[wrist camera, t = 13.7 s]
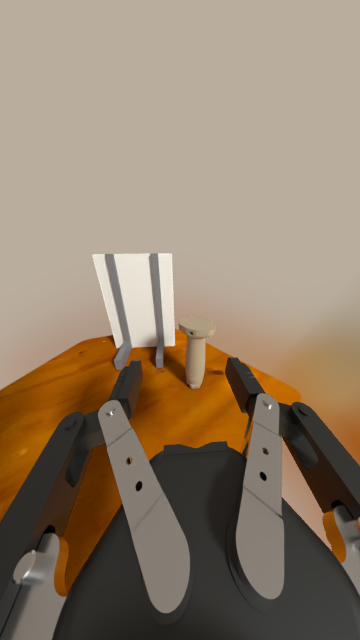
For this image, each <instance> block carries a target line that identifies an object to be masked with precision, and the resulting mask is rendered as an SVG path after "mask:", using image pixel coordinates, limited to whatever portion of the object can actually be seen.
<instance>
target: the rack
mask: <svg viewBox="0 0 360 640" xmlns="http://www.w3.org/2000/svg"><path fill="white" fill-rule="evenodd" d="M92 257H93V261H94V264H95V268H96V272H97V275H98V279H99V283H100V287H101V291H102V295H103V299H104V303H105V306H106V310H107V314H108V318H109V322H110V325H111V329H112V333H113V337H114V341H115V345H116V348H120V350H119V352H118V354H117V355H116V357H115V359H114V364H115V367H116V370H122V369H123V368H124V366H125V363H126V361H127V359H128V356H129V354H130V352H131V349H132V348H134V347H157V353H156V367H157V368H163V362H164V350H165V346H175V329H174V302H173V301H174V299H173V269H172V254H171V253H166V254H165V253H164V254H162V253H161V254H93V255H92Z"/></svg>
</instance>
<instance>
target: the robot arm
mask: <svg viewBox="0 0 360 640" xmlns="http://www.w3.org/2000/svg"><path fill="white" fill-rule="evenodd" d="M225 374H226V377H227V379H228V382H229V384H230V386H231V389H232V391H233V393H234V396H235V398H236V400H237V402H238V405H239V407H240V409H241V412H242V413H248V416H249V417H248V421H247V426H246V431H245V435H244V440H243V444H242V447H241V451H240V453H239V452H238V451H236V450H235V449H233V448H230V447H228V445H227V442H226V441H224V442H211V443H209V444H206V445H204V446H202V447H199V448H196V449H195V448H191V447H188V446H184V445H180V444H177V445H164V451H162V452H160V453H158V454H156V455H155V456H154V457H153V458H152V459H151V460H150V461H148V459H147V457H146V455H145V453H144V450H143V448H142V446H141V444H140V442H139V440H138V438H137V436H136V434H135V431H134V430H133V428H132V427H131V425H130V423H129V421H128V420H129V418H133V417H134V412H135V408H136V404H137V399H138V395H139V390H140V386H141V382H142V366H141V361H140V360H132V361H131V362H130V365H129V367H124V368H123V369H122V370H121V372H120V374H119V376H118V379H117V382H116V384H115V386H114V388H113V391H112V393H111V395H110V398H109V400H108V402H106V403H105V404H104V405H103V406H102V407H101V408H100V409H99V410H97V411H95V412H92V413H89V414H86V415H84V416H83V414H82V413H80V412H75V413H72V414H70V415H68V416H66V417H65V418H64V419H63V420H62V421H61V422H60V423H59V425H58V426H57V428H56V430H55V431H54V433H53V435H52V436H51V438H50V440H49V441H48V443H47V445H46V446H45V448H44V450H43V451H42V453H41V455H40V456H39V458H38V460H37V462H36V463H35V465H34V467H33V468H32V470H31V472H30V473H29V475H28V477H27V478H26V480H25V482H24V483H23V485H22V487H21V488H20V490H19V492H18V494H17V495H16V497H15V499H14V500H13V502H12V504H11V505H10V507H9V509H8V510H7V512H6V514H5V515H4V517H3V519H2V520H1V522H0V640H360V466H359V465H358V463H357V462H356V461H355V460H354V459H353V458H352V456H351V455H350V454H349V453H348V451H347V450H346V449H345V448H344V447H343V445H342V444H341V443H340V442H339V441H338V439H337V438H336V437H335V436H334V435H333V433H332V432H331V431H330V430H329V429H328V427H327V426H326V425H325V424H324V423H323V421H322V420H321V419H320V418H319V417H318V415H317V414H316V413H315V412H314V411H313V410H312V409H311V408H310V407H309V406H307V405H305V404H303V403H301V402H294V403H293V404H292V405H291V406H290V405H286V404H282V403H279V402H277V401H276V400H275V399H274V398H273V397H271V396H270V395H268V394H266V393H265V392H264V390H263V389H262V387H261V386H260V384H259V383H258V381H257V380H256V378H255V377H254V375H253V373H252V372H251V370H250V369H249V367H247V366H246V365H245V364H244V363H240V361H239V359H238V358H228V360H227V365H226V369H225ZM279 435H280V436H279ZM281 436H282V438H283V440H284V442H285V443H286V445H287V447H288V449H289V451H290V453H291V454H292V456H293V458H294V460H295V462H296V464H297V466H298V467H299V469H300V471H301V473H302V475H303V477H304V478H305V480H306V482H307V484H308V486H309V487H310V489H311V491H312V493H313V495H314V497H315V499H316V500H317V502H318V504H319V506H320V508H321V509H322V512H323V513H324V515H323V525H324V528H325V531H326V536H327V539H328V541H329V543H330V544H331V547H332V551H331V550H330V549H329V548H328V547H327V546H326V545H325V543H323V541H322V540H321V539H320V538H319V537H318V536H317V535H316V534H315V533H314V531H313V530H312V529H311V528H310V527H309V526H308V525H307V524H306V523H305V522H304V521H303V520H302V518H301V517H300V516H299V515H298V514H297V513H296V512H295V511H294V510H293V509H292V507H291V506H290V505H289V504H288V503H287V502H286V501H285V500H284V499H283V498H282V438H281ZM104 443H106V445H107V452H108V455H109V459H110V462H111V465H112V469H113V472H114V476H115V479H116V482H117V486H118V489H119V493H120V496H121V500H122V505H121V506H120V508H119V509H118V511H117V513H116V514H115V516H114V517H113V519H112V521H111V522H110V524H109V525H108V527H107V529H106V530H105V532H104V533H103V535H102V537H101V538H100V540H99V542H98V543H97V545H96V546H95V548H94V550H93V551H92V553H91V554H90V556H89V558H88V559H87V561H86V562H85V564H84V566H83V567H82V569H81V570H80V572H79V574H78V575H77V577H76V579H75V581H74V583H73V585H72V586H71V588H70V591H69V593H68V592H67V591H66V588H65V569H66V565H67V560H68V554H69V547H68V543H67V541H66V540H65V539H64V538H62V537H63V534H64V531H65V528H66V525H67V522H68V519H69V516H70V513H71V511H72V508H73V505H74V502H75V499H76V496H77V493H78V490H79V488H80V485H81V482H82V479H83V476H84V473H85V470H86V467H87V465H88V462H89V459H90V456H91V453H92V450H93V448H95V447H97V446H100V445H102V444H104Z"/></svg>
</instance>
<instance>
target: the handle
mask: <svg viewBox="0 0 360 640" xmlns="http://www.w3.org/2000/svg"><path fill="white" fill-rule="evenodd" d="M215 329H216V324H215V322H213V321H211V320H208V319H205V318H200V317H185V318H183V319H181V320H180V321H179V330H181V331H182V332H183V333H184V334H186V335H187V350H186V361H185V370H186V378H187V379H186V380H187V384H188V385H189V386H190V388H192V389H193V388H200V384H202V379H203V376H204V371H205V339H206V337H210V336H212V335H213V334H214V333H215Z"/></svg>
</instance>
